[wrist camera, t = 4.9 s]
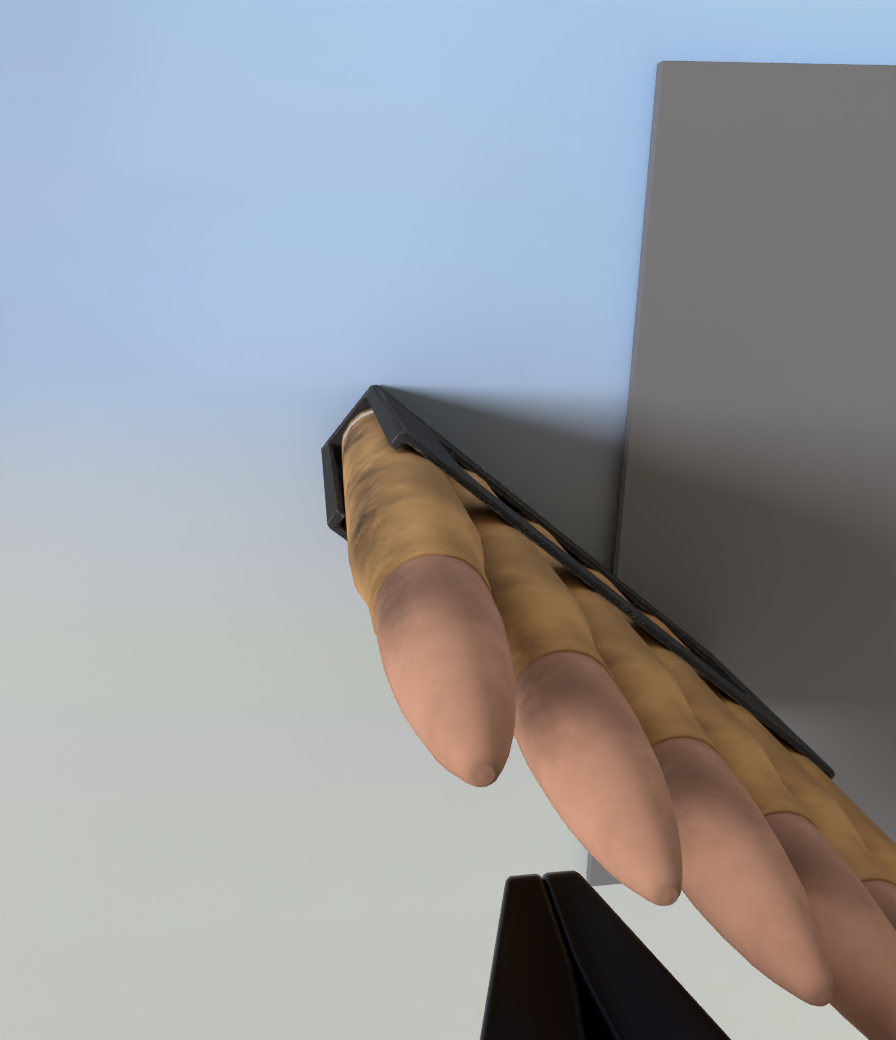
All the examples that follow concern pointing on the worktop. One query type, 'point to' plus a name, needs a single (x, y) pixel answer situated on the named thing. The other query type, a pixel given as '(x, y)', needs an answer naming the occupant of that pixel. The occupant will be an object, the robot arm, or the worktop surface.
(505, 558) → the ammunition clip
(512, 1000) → the robot arm
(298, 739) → the worktop surface
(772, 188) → the rubber mat
